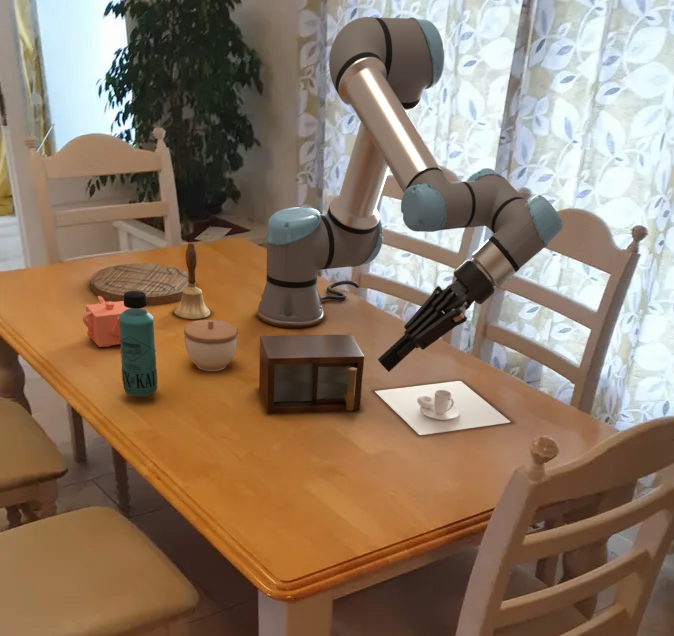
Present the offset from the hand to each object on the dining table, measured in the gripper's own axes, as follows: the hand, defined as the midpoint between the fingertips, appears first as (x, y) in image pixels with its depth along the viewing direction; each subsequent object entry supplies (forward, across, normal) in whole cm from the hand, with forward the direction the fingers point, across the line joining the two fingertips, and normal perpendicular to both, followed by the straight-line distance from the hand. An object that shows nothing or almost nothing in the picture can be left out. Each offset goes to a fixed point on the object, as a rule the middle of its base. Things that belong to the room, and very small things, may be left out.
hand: (383, 365), depth 167 cm
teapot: (+42, +41, +27) cm, 64 cm away
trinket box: (+28, +27, +13) cm, 41 cm away
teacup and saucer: (-2, +4, -17) cm, 18 cm away
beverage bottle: (+39, +12, +24) cm, 47 cm away
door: (+12, +2, -1) cm, 12 cm away
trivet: (+36, +75, +21) cm, 86 cm away
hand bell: (+29, +57, +14) cm, 65 cm away
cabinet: (+16, +9, +1) cm, 18 cm away
